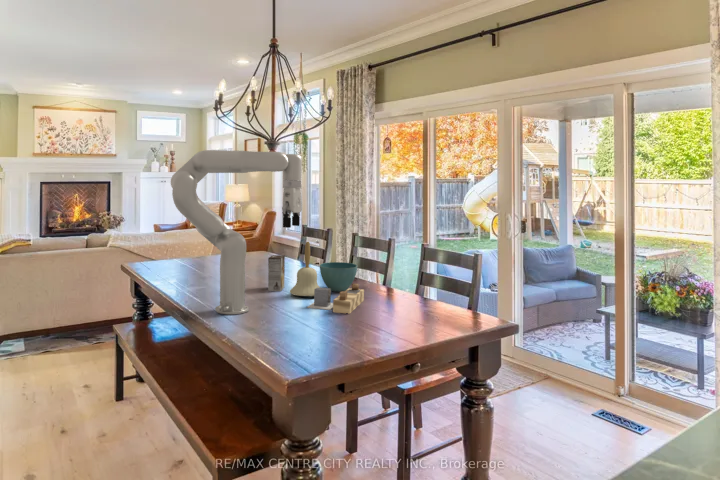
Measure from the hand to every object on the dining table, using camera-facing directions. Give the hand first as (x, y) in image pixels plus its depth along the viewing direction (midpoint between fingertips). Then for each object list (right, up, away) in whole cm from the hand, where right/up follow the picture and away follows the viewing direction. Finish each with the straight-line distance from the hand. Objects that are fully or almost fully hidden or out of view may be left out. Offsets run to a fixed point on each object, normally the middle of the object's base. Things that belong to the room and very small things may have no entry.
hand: (291, 226), depth 201 cm
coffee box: (-12, -30, +34) cm, 47 cm away
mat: (+13, -33, +5) cm, 36 cm away
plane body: (+24, -34, +6) cm, 42 cm away
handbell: (+4, -31, +23) cm, 39 cm away
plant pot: (+18, -30, +37) cm, 51 cm away
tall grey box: (+12, -33, +4) cm, 36 cm away
